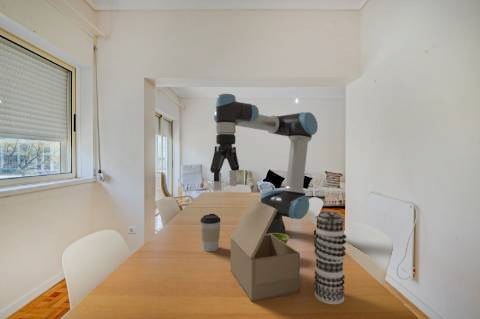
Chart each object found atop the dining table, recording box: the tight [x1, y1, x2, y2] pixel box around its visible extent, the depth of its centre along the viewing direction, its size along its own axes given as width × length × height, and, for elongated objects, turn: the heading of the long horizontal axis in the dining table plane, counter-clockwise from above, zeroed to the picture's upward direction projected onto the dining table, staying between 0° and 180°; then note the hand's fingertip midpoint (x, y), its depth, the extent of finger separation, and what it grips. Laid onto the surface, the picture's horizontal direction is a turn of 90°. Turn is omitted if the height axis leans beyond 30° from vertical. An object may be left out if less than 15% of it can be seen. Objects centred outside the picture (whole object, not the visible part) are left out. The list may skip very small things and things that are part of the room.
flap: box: [229, 197, 277, 259], centre depth 83 cm, size 16×20×1 cm
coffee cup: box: [200, 213, 221, 252], centre depth 113 cm, size 9×9×15 cm
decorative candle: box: [313, 210, 347, 305], centre depth 75 cm, size 9×9×25 cm
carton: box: [230, 234, 301, 302], centre depth 84 cm, size 16×21×12 cm
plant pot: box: [270, 233, 290, 245], centre depth 104 cm, size 9×9×9 cm
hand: (225, 188), depth 100 cm, fingers open, 13 cm apart
